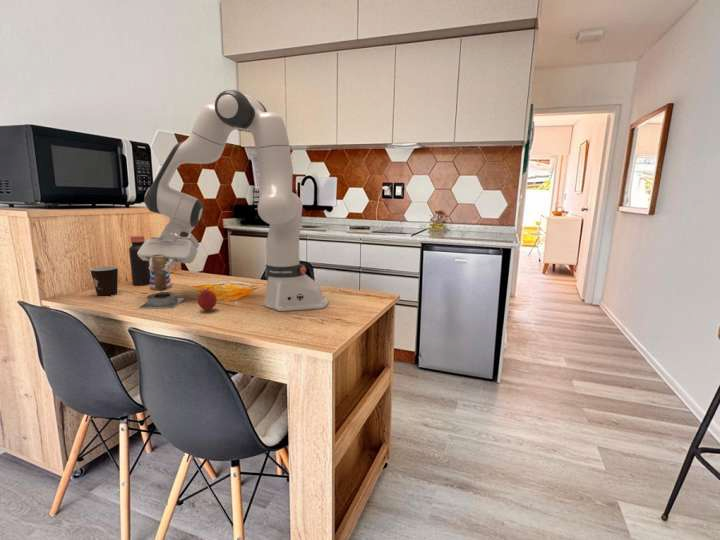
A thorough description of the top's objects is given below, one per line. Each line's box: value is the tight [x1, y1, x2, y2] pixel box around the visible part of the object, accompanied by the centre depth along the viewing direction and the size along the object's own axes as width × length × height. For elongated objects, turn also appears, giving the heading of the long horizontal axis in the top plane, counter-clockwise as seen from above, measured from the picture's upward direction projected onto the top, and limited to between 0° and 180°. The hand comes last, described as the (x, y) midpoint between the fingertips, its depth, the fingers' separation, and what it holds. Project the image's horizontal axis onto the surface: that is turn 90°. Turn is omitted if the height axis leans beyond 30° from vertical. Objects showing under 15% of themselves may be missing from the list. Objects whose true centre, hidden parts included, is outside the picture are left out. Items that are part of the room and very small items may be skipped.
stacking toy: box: [149, 262, 172, 290], centre depth 157 cm, size 8×8×19 cm
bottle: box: [128, 235, 151, 287], centre depth 162 cm, size 7×7×20 cm
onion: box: [197, 286, 218, 312], centre depth 129 cm, size 6×6×8 cm
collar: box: [138, 291, 186, 309], centre depth 137 cm, size 11×11×3 cm
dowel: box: [152, 255, 168, 292], centre depth 135 cm, size 4×4×12 cm
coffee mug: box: [90, 265, 119, 297], centre depth 148 cm, size 12×9×10 cm
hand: (158, 270), depth 135 cm, fingers closed on dowel, 4 cm apart
